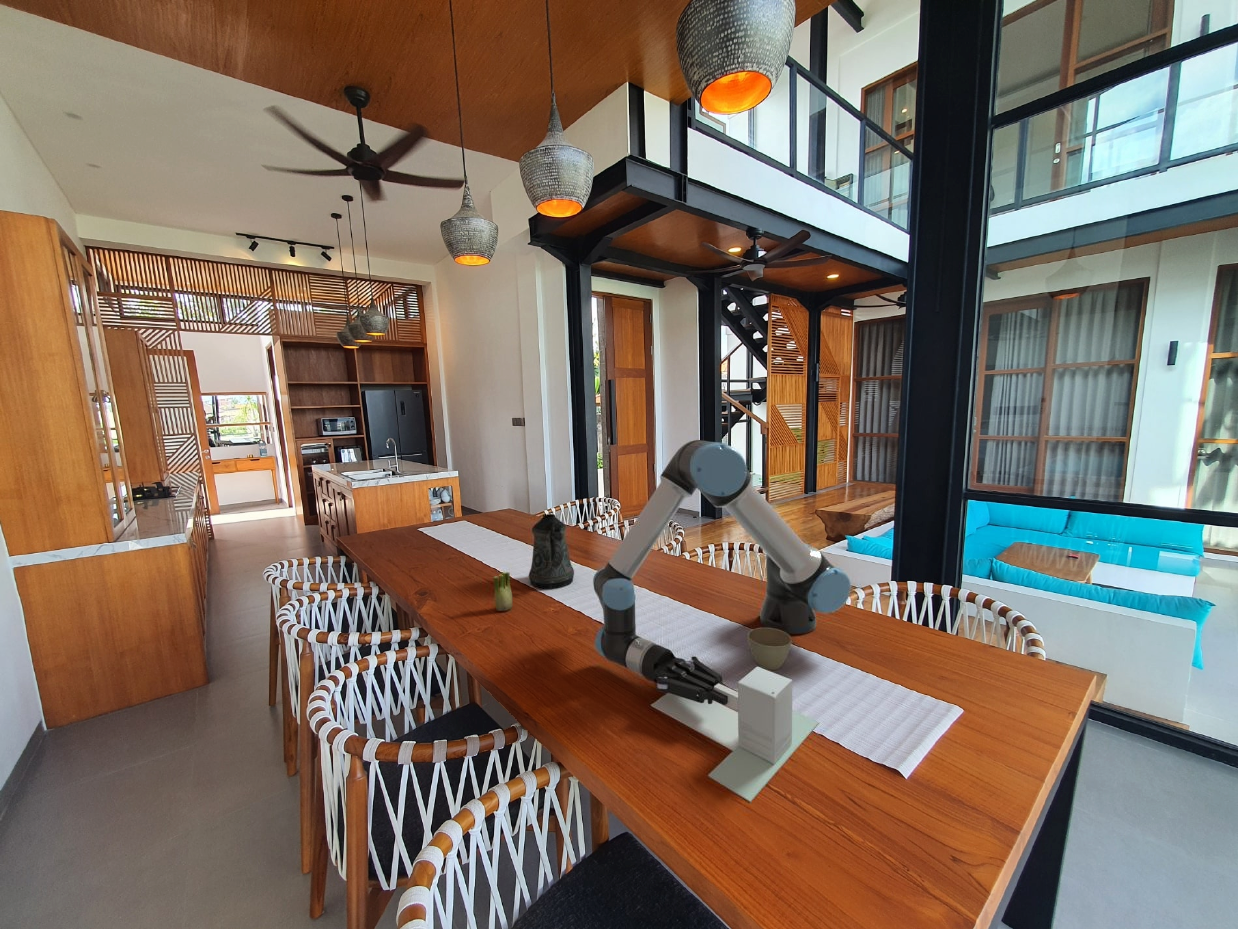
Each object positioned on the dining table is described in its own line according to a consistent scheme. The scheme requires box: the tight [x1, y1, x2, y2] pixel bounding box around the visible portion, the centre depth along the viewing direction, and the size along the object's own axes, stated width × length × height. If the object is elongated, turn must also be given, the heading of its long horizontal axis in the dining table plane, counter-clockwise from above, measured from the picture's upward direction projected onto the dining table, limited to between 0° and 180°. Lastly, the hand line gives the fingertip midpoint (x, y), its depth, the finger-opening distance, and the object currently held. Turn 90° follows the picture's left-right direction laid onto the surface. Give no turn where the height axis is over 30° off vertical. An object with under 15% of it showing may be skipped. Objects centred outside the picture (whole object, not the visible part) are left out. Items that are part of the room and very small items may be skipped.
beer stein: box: [528, 513, 575, 590], centre depth 174 cm, size 16×19×25 cm
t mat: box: [650, 693, 820, 803], centre depth 95 cm, size 28×26×1 cm
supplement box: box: [737, 666, 793, 764], centre depth 88 cm, size 7×7×13 cm
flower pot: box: [747, 627, 793, 671], centre depth 115 cm, size 10×10×7 cm
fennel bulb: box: [493, 571, 513, 612], centre depth 152 cm, size 6×5×12 cm
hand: (745, 705), depth 90 cm, fingers closed
